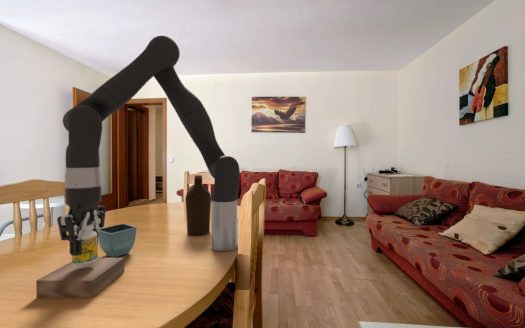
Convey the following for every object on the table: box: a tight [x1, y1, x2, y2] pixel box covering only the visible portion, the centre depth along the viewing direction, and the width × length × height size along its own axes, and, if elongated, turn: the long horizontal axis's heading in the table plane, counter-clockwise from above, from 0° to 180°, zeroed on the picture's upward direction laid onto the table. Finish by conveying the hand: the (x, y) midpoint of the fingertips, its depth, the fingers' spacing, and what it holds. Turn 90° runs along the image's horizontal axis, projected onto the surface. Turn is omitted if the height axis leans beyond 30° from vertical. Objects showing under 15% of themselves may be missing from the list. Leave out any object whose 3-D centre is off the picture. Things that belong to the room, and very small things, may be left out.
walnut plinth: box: [35, 257, 125, 299], centre depth 63 cm, size 13×13×4 cm
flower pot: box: [98, 223, 137, 258], centre depth 82 cm, size 9×9×9 cm
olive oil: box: [185, 174, 212, 237], centre depth 105 cm, size 11×11×25 cm
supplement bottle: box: [71, 223, 99, 266], centre depth 63 cm, size 5×5×10 cm
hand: (85, 250), depth 63 cm, fingers closed on supplement bottle, 5 cm apart
